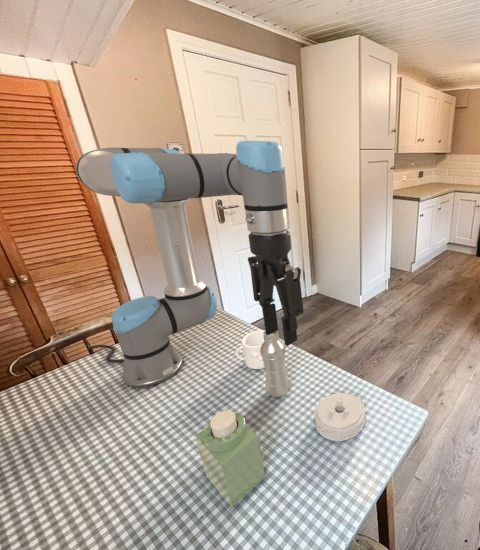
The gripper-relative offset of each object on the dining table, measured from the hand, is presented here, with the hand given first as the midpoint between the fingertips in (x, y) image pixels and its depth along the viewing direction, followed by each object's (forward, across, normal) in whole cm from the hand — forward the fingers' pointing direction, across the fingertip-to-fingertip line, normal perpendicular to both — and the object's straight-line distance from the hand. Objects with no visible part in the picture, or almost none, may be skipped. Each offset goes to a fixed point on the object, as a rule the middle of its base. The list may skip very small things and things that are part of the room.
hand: (281, 336), depth 65 cm
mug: (+27, -29, +10) cm, 41 cm away
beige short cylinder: (+13, 0, -15) cm, 20 cm away
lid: (+27, +8, +9) cm, 30 cm away
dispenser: (+27, 0, -15) cm, 31 cm away
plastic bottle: (+27, -13, +6) cm, 31 cm away
